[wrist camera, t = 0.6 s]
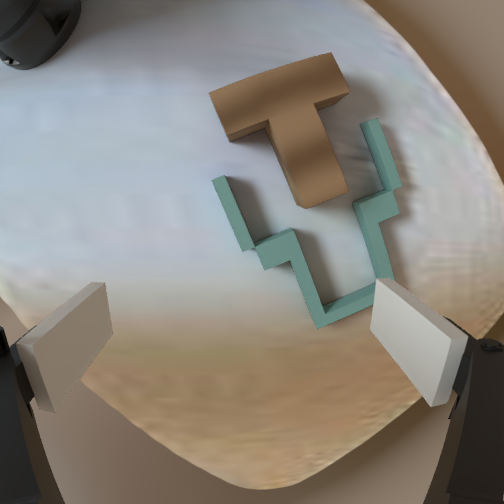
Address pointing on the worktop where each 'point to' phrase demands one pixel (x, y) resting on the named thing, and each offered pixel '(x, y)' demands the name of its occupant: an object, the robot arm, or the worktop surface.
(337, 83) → the t block
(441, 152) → the worktop surface
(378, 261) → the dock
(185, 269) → the worktop surface
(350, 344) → the worktop surface
